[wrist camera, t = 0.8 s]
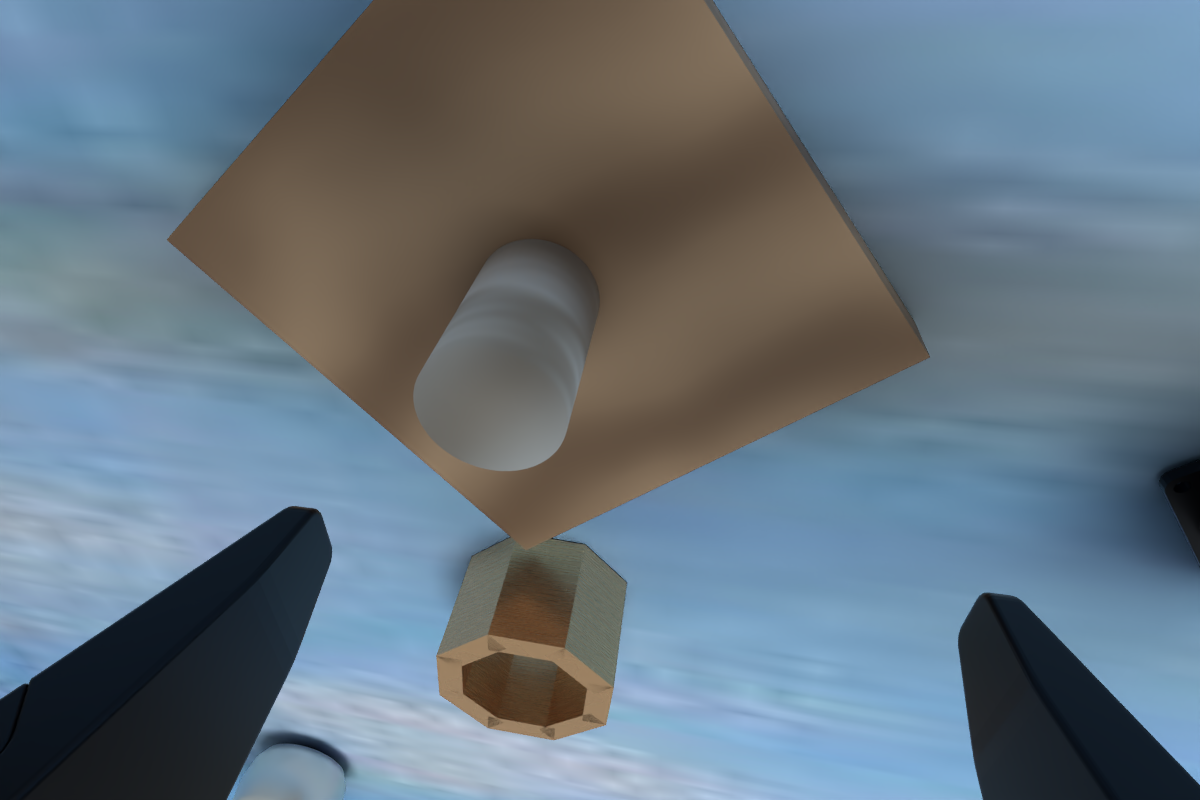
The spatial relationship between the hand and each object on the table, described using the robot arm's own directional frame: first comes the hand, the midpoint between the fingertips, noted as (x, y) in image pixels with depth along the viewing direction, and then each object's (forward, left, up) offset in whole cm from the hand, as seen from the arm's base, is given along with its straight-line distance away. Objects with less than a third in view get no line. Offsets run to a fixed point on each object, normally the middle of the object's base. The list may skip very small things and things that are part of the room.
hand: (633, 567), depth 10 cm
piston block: (+1, +4, -13) cm, 14 cm away
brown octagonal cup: (-11, +15, -13) cm, 23 cm away
